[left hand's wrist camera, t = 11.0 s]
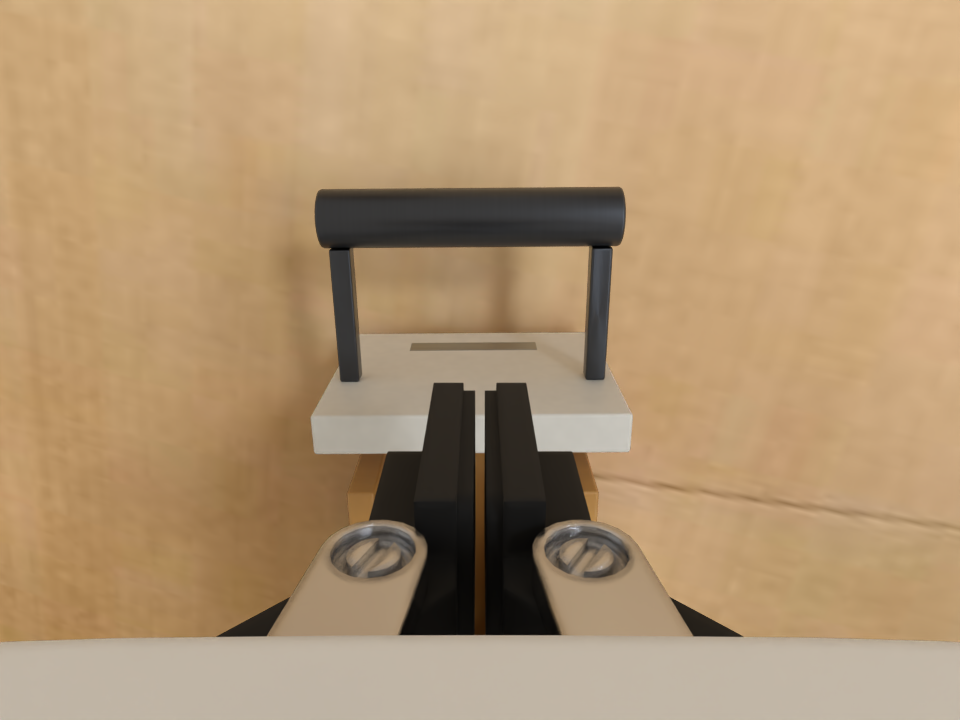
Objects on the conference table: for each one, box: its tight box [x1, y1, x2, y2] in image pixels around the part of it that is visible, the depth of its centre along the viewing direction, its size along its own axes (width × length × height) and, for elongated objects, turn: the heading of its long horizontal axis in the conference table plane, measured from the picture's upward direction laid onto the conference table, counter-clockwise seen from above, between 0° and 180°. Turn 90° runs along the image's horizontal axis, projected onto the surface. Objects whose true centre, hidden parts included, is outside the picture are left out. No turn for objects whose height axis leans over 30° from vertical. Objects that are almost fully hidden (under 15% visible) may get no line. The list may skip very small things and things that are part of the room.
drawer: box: [311, 187, 633, 635], centre depth 24 cm, size 22×9×7 cm, turn 0°
